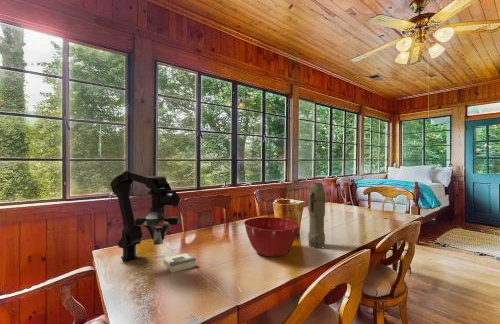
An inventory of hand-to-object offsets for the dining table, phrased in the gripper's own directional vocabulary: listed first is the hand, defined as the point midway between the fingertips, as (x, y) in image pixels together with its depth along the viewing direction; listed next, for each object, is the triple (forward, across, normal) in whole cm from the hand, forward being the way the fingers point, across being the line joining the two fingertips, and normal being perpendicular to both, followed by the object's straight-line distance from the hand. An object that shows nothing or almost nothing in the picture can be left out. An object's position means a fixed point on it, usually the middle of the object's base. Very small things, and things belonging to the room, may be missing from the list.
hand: (158, 239), depth 114 cm
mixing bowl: (+13, +52, +19) cm, 57 cm away
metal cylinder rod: (+2, 0, 0) cm, 2 cm away
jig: (+12, +9, +2) cm, 15 cm away
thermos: (+13, +78, +29) cm, 84 cm away
